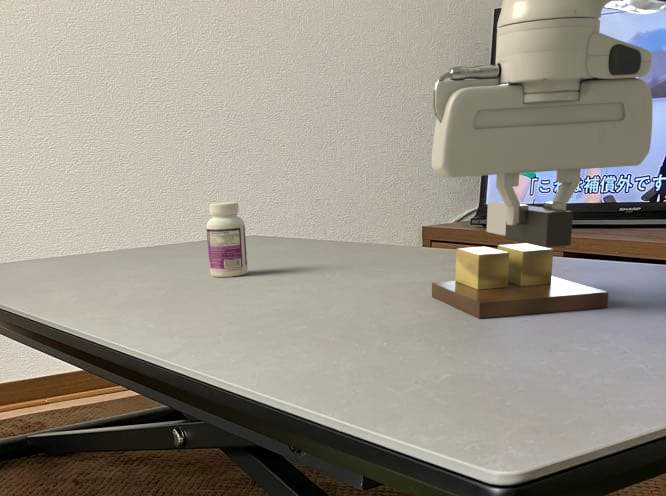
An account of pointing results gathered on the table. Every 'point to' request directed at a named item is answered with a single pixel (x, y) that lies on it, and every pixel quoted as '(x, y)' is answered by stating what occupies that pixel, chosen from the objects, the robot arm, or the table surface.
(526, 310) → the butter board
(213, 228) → the pill bottle
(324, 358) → the table surface
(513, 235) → the charcoal gray box
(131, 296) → the table surface
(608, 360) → the table surface
